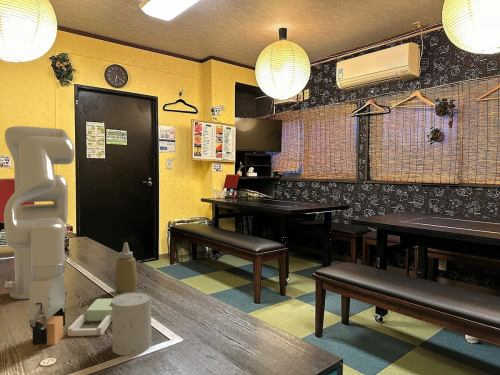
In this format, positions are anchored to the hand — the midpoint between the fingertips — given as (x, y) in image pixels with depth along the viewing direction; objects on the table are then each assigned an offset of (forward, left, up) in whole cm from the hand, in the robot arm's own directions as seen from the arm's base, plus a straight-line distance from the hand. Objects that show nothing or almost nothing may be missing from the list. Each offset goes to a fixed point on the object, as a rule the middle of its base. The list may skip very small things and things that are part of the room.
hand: (49, 334), depth 90 cm
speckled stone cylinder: (+22, -4, -2) cm, 22 cm away
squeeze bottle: (+10, +35, -2) cm, 37 cm away
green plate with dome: (+11, +11, -1) cm, 16 cm away
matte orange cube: (0, 0, -2) cm, 2 cm away
